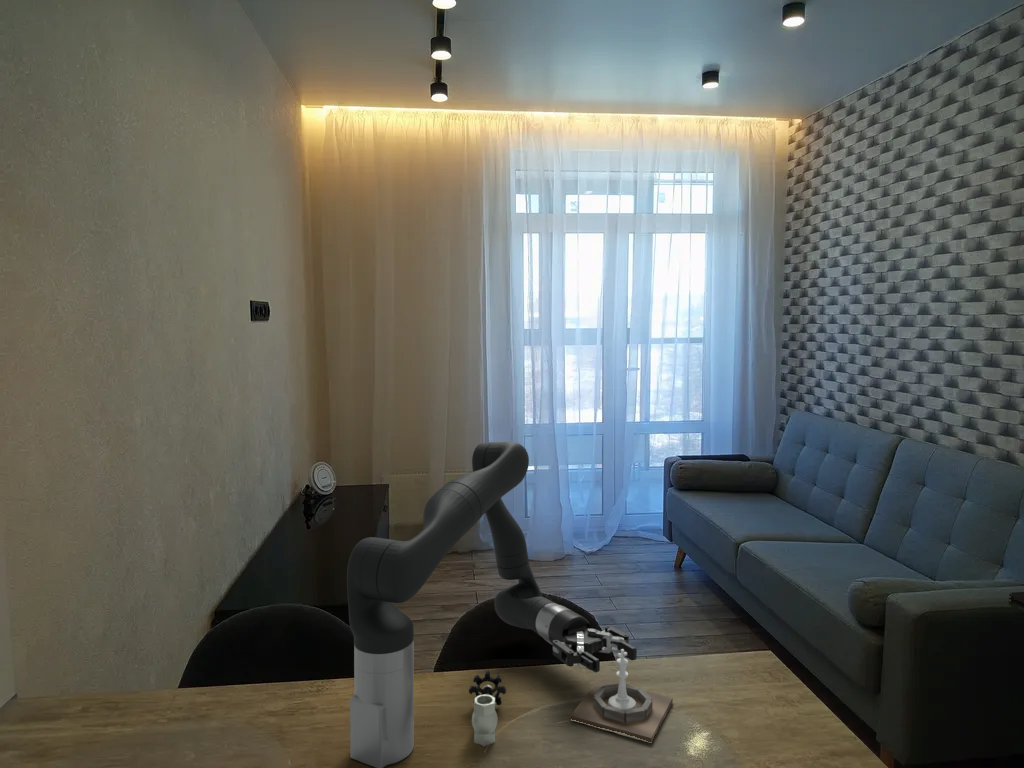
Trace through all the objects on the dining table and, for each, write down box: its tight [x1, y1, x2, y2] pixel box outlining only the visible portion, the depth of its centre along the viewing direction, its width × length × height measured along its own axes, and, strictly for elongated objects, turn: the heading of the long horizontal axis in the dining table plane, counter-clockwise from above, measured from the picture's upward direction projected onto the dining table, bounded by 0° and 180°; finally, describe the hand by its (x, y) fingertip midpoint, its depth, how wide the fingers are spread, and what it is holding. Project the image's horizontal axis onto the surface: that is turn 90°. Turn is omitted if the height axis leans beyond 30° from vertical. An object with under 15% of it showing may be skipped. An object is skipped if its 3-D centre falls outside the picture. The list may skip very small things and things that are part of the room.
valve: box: [468, 670, 507, 747], centre depth 107 cm, size 7×7×12 cm
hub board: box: [569, 679, 674, 743], centre depth 111 cm, size 14×14×2 cm
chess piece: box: [608, 649, 636, 710], centre depth 111 cm, size 5×5×10 cm
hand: (617, 660), depth 113 cm, fingers open, 8 cm apart
